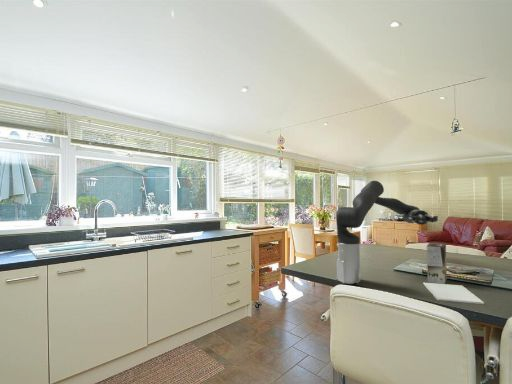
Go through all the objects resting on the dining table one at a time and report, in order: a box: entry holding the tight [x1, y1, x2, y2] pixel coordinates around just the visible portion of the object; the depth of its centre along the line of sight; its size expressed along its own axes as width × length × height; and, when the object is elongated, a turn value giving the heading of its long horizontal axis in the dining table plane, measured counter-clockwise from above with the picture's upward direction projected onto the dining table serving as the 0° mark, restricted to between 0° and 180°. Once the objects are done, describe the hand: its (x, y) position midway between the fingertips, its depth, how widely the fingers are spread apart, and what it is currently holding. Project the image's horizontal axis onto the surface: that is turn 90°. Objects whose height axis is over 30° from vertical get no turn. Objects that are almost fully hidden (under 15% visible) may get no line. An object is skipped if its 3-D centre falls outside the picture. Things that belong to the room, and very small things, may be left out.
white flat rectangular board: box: [422, 282, 485, 305], centre depth 103 cm, size 18×14×1 cm
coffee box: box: [426, 242, 448, 284], centre depth 117 cm, size 9×6×16 cm
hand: (428, 220), depth 127 cm, fingers open, 2 cm apart
